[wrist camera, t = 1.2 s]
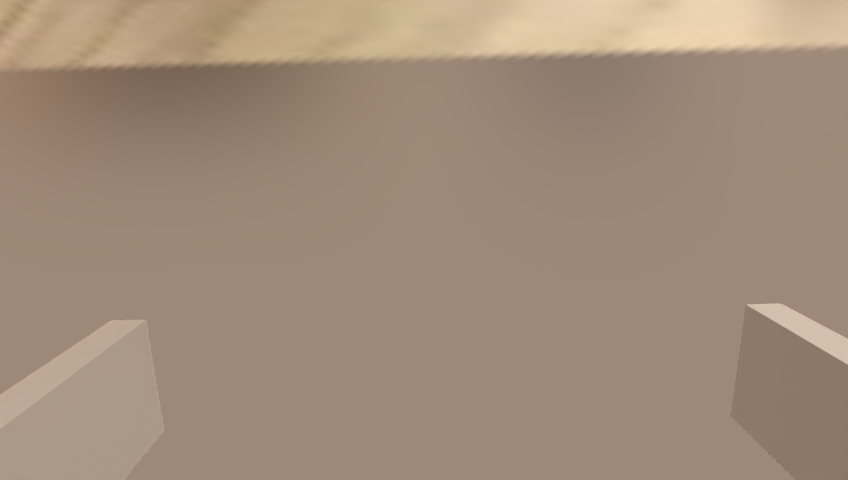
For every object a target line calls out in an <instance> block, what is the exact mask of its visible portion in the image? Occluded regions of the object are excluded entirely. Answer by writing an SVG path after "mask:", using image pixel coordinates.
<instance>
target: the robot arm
mask: <svg viewBox="0 0 848 480" xmlns="http://www.w3.org/2000/svg"><path fill="white" fill-rule="evenodd" d="M731 417H732V418H733V419H734V420H735V421H736V422H737V423H738V424H739V425H740V426H741V427H742V428H743V429H744V430H745V431H746V432H747V433H748V434H749V435H750V436H752V438H753V439H754V440H755V441H757V443H759V444H760V445H761V446H762V447H763V448H764V449H765V450H766V451H767V452H768V453H769V454H770V455H771V456H772V457H773V458H774V459H775V460H776V461H777V462H778V463H779V464H780V465H781V466H782V467H783V468H784V469H785V470H786V471H787V472H788V473H789V474H790V475H791V476H792V477H793V478H794V479H795V480H848V339H847V338H845V337H843V336H841V335H839V334H837V333H835V332H833V331H832V330H830V329H828V328H826V327H824V326H822V325H820V324H818V323H817V322H814V321H813V320H811V319H809V318H807V317H805V316H803V315H801V314H800V313H798V312H796V311H794V310H792V309H790V308H788V307H786V306H784V305H783V304H747V305H746V307H745V315H744V322H743V330H742V337H741V344H740V352H739V359H738V367H737V374H736V381H735V389H734V396H733V404H732V412H731ZM163 432H164V424H163V418H162V412H161V406H160V401H159V394H158V387H157V382H156V375H155V370H154V364H153V358H152V352H151V345H150V339H149V334H148V328H147V321H146V320H112V321H110V322H108V323H107V324H105V325H104V326H102V327H101V328H99V329H98V330H96V331H95V332H93V333H92V334H90V335H89V336H87V337H86V338H84V339H83V340H81V341H80V342H78V343H77V344H75V345H74V346H72V347H71V348H69V349H68V350H66V351H65V352H63V353H62V354H60V355H59V356H57V357H56V358H54V359H53V360H51V361H50V362H49V363H47V364H45V365H44V366H42V367H41V368H39V369H38V370H36V371H35V372H33V373H32V374H30V375H29V376H28V377H26V378H24V379H23V380H21V381H20V382H18V383H17V384H15V385H14V386H13V387H11V388H10V389H8V390H7V391H5V392H4V393H2V394H1V395H0V480H125V479H126V478H127V476H128V475H129V474H130V473H131V471H132V470H133V469H134V468H135V467H136V465H137V464H138V463H139V462H140V460H141V459H142V457H144V455H145V454H146V453H147V451H148V450H149V449H150V448H151V447H152V446H153V444H154V443H155V442H156V440H157V439H158V438H159V437H160V435H161V434H162V433H163Z"/></svg>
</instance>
